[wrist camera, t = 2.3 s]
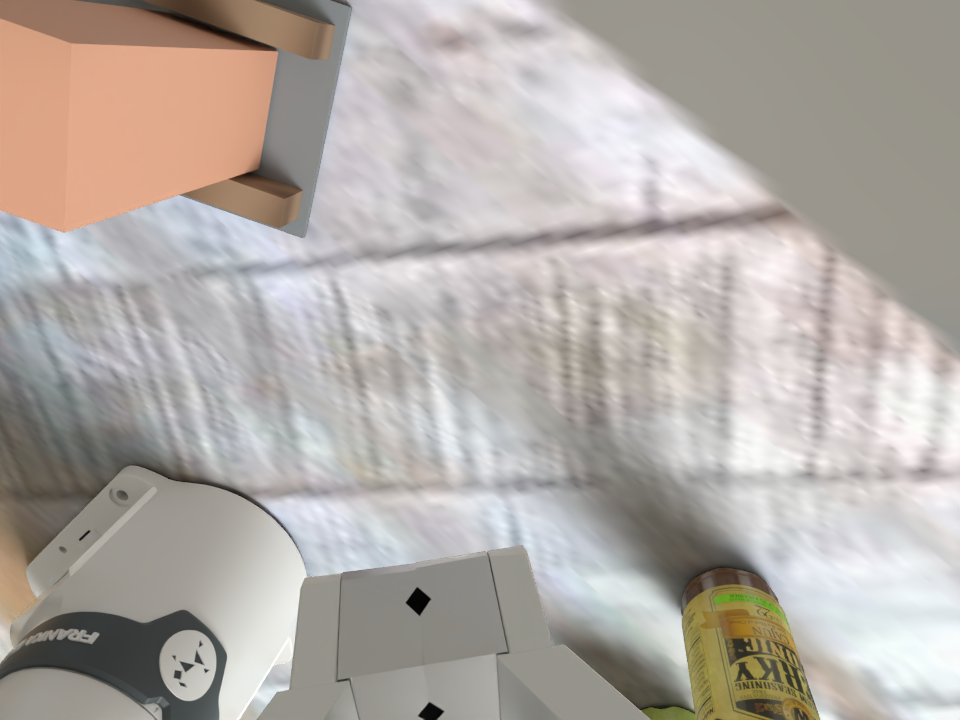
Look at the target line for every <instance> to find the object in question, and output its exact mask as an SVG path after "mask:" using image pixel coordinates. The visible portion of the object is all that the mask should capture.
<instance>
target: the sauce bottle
mask: <svg viewBox="0 0 960 720" xmlns="http://www.w3.org/2000/svg"><path fill="white" fill-rule="evenodd" d="M681 604H682V609H681V613H682V616H683V617H682V629H683V635H684V642H685V649H686V656H687V662H688V669H689V675H690V682H691V689H692V696H693V703H694V710H695V717H696V720H820V718H819V714H818V711H817V709H816V706H815V703H814V700H813V697H812V694H811V691H810V689H809V686H808V682H807V679H806V677H805V674H804V670H803V666H802V664H801V662H800V659H799V656H798V652H797V649H796V646H795V643H794V640H793V637H792V634H791V630H790V627H789V625H788V622H787V619H786V616H785V613H784V611H783V609H782V607H781V606H780V604H779V602H778V599H777V597H776V595H775V594H774V592H773V591H772V590H771V588H770V587H769V586H768V585H767V584H766V583H765V582H764V581H763V580H762V579H761V578H760V577H759V576H757V575H755V574H753V573H751V572H746V571H743V570H738V569H731V568H727V567H726V568H717V569H713V570H712V571H708V572H705V573H703V574H701V575H700V576H698V577H696V578H694V579H692V580H691V581H690V582H689V583H688V585H687V586H686V589H685V591H684V594H683V597H682V603H681Z"/></svg>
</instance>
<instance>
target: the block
mask: <svg viewBox="0 0 960 720" xmlns="http://www.w3.org/2000/svg"><path fill="white" fill-rule="evenodd" d="M277 57H278V51H276V50H273V49H270V48H267V47H264V46H261V45H259V44H256V43H253V42H250V41H247V40H244V39H241V38H239V37H236V36H233V35H230V34H227V33H224V32H222V31H219V30H216V29H213V28H210V27H207V26H204V25H202V24H199V23H196V22H193V21H190V20H187V19H185V18H182V17H179V16H176V15H173V14H170V13H167V12H164V11H156V10H148V9H140V8H132V7H124V6H116V5H108V4H100V3H91V2H83V1H75V0H0V210H1V211H4V212H7V213H9V214H12V215H15V216H18V217H21V218H24V219H27V220H29V221H32V222H35V223H38V224H41V225H44V226H47V227H49V228H52V229H55V230H58V231H61V232H67V231H70V230H74V229H77V228H80V227H83V226H86V225H89V224H92V223H95V222H98V221H101V220H104V219H107V218H110V217H113V216H116V215H119V214H122V213H125V212H128V211H131V210H135V209H138V208H141V207H144V206H147V205H150V204H153V203H156V202H159V201H162V200H165V199H168V198H171V197H174V196H177V195H180V194H183V193H186V192H189V191H193V190H196V189H199V188H202V187H205V186H208V185H211V184H214V183H217V182H220V181H223V180H226V179H229V178H232V177H235V176H238V175H241V174H244V173H247V172H250V171H254V170H257V169H259V166H260V160H261V154H262V148H263V142H264V136H265V130H266V124H267V118H268V112H269V106H270V100H271V94H272V88H273V82H274V75H275V69H276V63H277Z"/></svg>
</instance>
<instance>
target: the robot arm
mask: <svg viewBox="0 0 960 720" xmlns="http://www.w3.org/2000/svg"><path fill="white" fill-rule="evenodd" d="M26 576H27V579H28V582H29V585H30V587H31V589H32V591H33V593H34V595H35V597H36V599H35V600H34V601H33V602H32V603H31V604H30V605H29V606H28V607H27V608H26V609H25V610H24V611H23V612H22V613H21V614H20V615H19V616H18V617H17V618H16V619H15V620H14V621H13V622H12V624H11V626H10V639H11V643H12V646H13V649H12V650H11V651H10V652H9V653H8V655H7V656H6V657H5V658H4V660H3V661H2V662H1V663H0V720H239V719H240V717H241V716H242V714H243V713H244V711H245V709H246V708H247V706H248V705H249V703H250V702H251V700H252V698H253V697H254V695H255V694H256V692H257V690H258V689H259V687H260V686H261V684H262V682H263V681H264V679H265V678H266V676H267V674H268V673H269V671H270V669H271V668H272V666H273V665H278V664H283V663H287V662H288V661H290V660H291V658H292V657H293V661H292V670H291V679H290V688H289V690H286V691H280V692H277V693H276V694H275V696H274V697H273V699H272V700H271V701H270V703H269V704H268V705H267V707H266V708H265V709H264V711H263V712H262V713H261V715H260V716H259V717H258V719H257V720H651V719H650V718H648V717H647V716H646V715H645V714H644V713H643V712H642V711H640V710H639V709H638V708H637V707H636V706H635V705H634V704H632V703H631V702H630V701H629V700H628V699H627V698H625V697H624V696H623V695H622V694H621V693H620V692H619V691H617V690H616V689H615V688H614V687H613V686H612V685H611V684H609V683H608V682H607V681H606V680H605V679H604V678H603V677H601V676H600V675H599V674H598V673H597V672H596V671H594V670H593V669H592V668H591V667H590V666H589V665H588V664H586V663H585V662H584V661H583V660H582V659H581V658H580V657H578V656H577V655H576V654H575V653H574V652H573V651H571V650H570V649H569V648H568V647H567V646H566V645H557V646H553V643H552V639H551V636H550V632H549V629H548V625H547V622H546V618H545V615H544V611H543V607H542V604H541V600H540V597H539V593H538V590H537V586H536V583H535V579H534V575H533V572H532V568H531V565H530V561H529V558H528V554H527V551H526V549H525V548H524V547H523V546H516V547H510V548H503V549H497V550H491V551H487V553H486V551H483V552H477V553H471V554H465V555H458V556H452V557H446V558H440V559H434V560H428V561H421V562H416V563H414V564H406V565H398V566H390V567H382V568H374V569H366V570H358V571H350V572H343V573H339V574H331V575H323V576H315V577H307V575H306V570H305V566H304V563H303V560H302V558H301V555H300V553H299V551H298V549H297V547H296V546H295V544H294V542H293V541H292V540H291V538H290V537H289V535H288V534H287V533H286V532H285V530H284V529H283V528H282V527H281V526H280V525H279V524H278V523H277V522H276V521H275V520H274V519H273V518H272V517H271V516H269V515H268V514H267V513H266V512H264V511H263V510H262V509H260V508H259V507H258V506H256V505H254V504H253V503H251V502H250V501H248V500H246V499H244V498H242V497H240V496H238V495H236V494H234V493H231V492H229V491H226V490H223V489H220V488H217V487H213V486H209V485H203V484H196V483H187V482H179V481H174V480H170V479H168V478H166V477H164V476H161V475H159V474H157V473H155V472H153V471H150V470H148V469H145V468H142V467H139V466H127V467H125V468H124V469H122V470H121V471H120V472H119V473H118V474H117V475H116V476H115V477H114V478H113V479H112V480H111V481H110V482H109V483H108V484H107V485H106V486H105V487H104V488H103V489H102V491H101V492H100V493H99V494H98V495H97V496H96V497H95V498H94V499H93V500H92V501H91V502H90V503H89V504H88V505H87V506H86V507H85V508H84V509H83V510H82V511H81V512H80V513H79V514H78V515H77V516H76V517H75V518H74V519H73V520H72V521H71V522H70V523H69V524H68V525H67V526H66V527H65V528H64V529H63V530H62V531H61V532H60V533H59V534H58V535H57V536H56V537H55V538H54V539H53V540H52V541H51V542H50V543H49V544H48V545H47V546H46V547H45V548H44V549H43V550H42V551H41V552H40V553H39V554H38V555H37V556H36V557H35V559H34V560H33V561H32V562H31V563H30V564H29V565H28V567H27V568H26Z"/></svg>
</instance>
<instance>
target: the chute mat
mask: <svg viewBox="0 0 960 720" xmlns="http://www.w3.org/2000/svg"><path fill="white" fill-rule="evenodd" d="M75 1H83V2H91V3H100V4H108V5H116V6H124V7H132V8H140V9H148V10H156V11H164V12H167V13H170V14H173V15H176V16H179V17H182V18H185V19H187V20H190V21H193V22H196V23H199V24H202V25H204V26H207V27H210V28H213V29H216V30H219V31H222V32H224V33H227V34H230V35H233V36H236V37H239V38H241V39H244V40H247V41H250V42H253V43H256V44H259V45H261V46H264V47H267V48H270V49H273V50H276V51H278V57H277V63H276V69H275V75H274V82H273V88H272V94H271V100H270V106H269V112H268V118H267V124H266V130H265V136H264V142H263V148H262V154H261V160H260V166H259V169H257V170H254V171H250V172H251V173H254V174H257V175H260V176H263V177H266V178H269V179H271V180H274V181H277V182H280V183H283V184H286V185H289V186H291V187H294V188H297V189H300V190H303V194H302V199H301V204H300V209H299V214H298V218H297V219H296V220H294V221H292V222H290V223H288V224H287V225H285V226H283V227H281V228H276V227H273V226H271V225H268V224H265V223H262V222H259V221H256V220H253V219H251V218H248V217H245V216H242V215H239V214H236V213H233V212H231V211H228V210H225V209H222V208H219V207H216V206H213V205H211V204H208V203H205V202H202V201H199V200H196V199H193V198H191V197H188V196H185V195H182V194H180V195H181V196H184V197H186V198H189V199H192V200H195V201H198V202H201V203H204V204H206V205H209V206H212V207H215V208H218V209H221V210H224V211H226V212H229V213H232V214H235V215H238V216H241V217H244V218H246V219H249V220H252V221H255V222H258V223H261V224H264V225H266V226H269V227H272V228H275V229H278V230H281V231H284V232H286V233H289V234H292V235H295V236H298V237H301V238H304V237H305V236H306V231H307V226H308V221H309V217H310V212H311V207H312V202H313V197H314V192H315V187H316V182H317V177H318V172H319V168H320V163H321V158H322V153H323V148H324V143H325V138H326V133H327V128H328V123H329V119H330V114H331V109H332V104H333V99H334V94H335V89H336V84H337V79H338V74H339V69H340V65H341V60H342V55H343V50H344V45H345V40H346V35H347V30H348V25H349V20H350V16H351V11H352V7H349V6H346V5H343V4H340V3H337V2H335V1H332V0H264V1H267V2H270V3H272V4H275V5H278V6H281V7H284V8H287V9H290V10H292V11H295V12H298V13H301V14H304V15H307V16H309V17H312V18H315V19H318V20H321V21H324V22H327V23H329V24H332V25H335V30H334V36H333V41H332V46H331V51H330V56H329V60H310V59H308V58H305V57H302V56H299V55H296V54H293V53H290V52H288V51H285V50H282V49H279V48H276V47H273V46H271V45H268V44H265V43H262V42H259V41H256V40H253V39H251V38H248V37H245V36H242V35H239V34H236V33H234V32H231V31H228V30H225V29H222V28H219V27H216V26H214V25H211V24H208V23H205V22H202V21H199V20H197V19H194V18H191V17H188V16H185V15H182V14H179V13H177V12H174V11H171V10H168V9H165V8H162V7H160V6H157V5H154V4H151V3H148V2H145V1H142V0H75Z"/></svg>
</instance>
